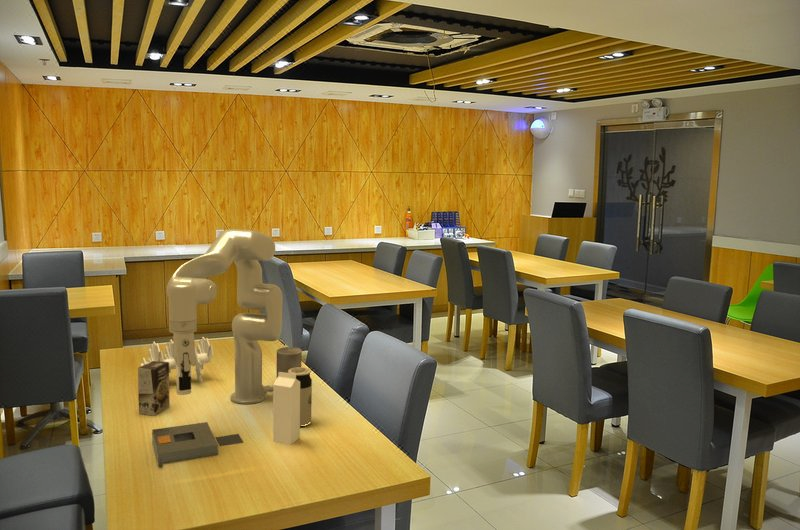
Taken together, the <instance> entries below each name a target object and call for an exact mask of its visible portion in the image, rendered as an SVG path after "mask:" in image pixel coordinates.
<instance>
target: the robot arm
mask: <svg viewBox="0 0 800 530" xmlns="http://www.w3.org/2000/svg"><path fill="white" fill-rule="evenodd" d="M275 253H276V243H275V241H274V240H273V238H272V237H271V236H269V235H267V234H265V233H261V232H259V231H256V230H253V229H233V228H229V229H224V230H223V231H221V232H220V233H219V234H218V235H217V237H216V238H215V240H213V243H212V244H211V245H210V247H209V248H208V249H207V250H206V252H205V253H204V254H201V255H199V256H197V257H194V258H192V259H191V260H189V261H186V262H185V263H183V264H181V265H180V266H179V267H178V268H177V269H176V271H174V273H173V274H172V275H171V277H170V279H169V280H168V283H167V284H166V295H167V298H168V329H169V330H168V332H169V333H171V334H172V333H173V337H172V338H173V340H172V341H173V343H174V358H175V362H176V364H177V366H178V367H180V377H179V390H180V391H183V390H190V389H191V390H192V375H191V376H190V363H191V365H193V366H192V367H196V359H195V346H196V342H195V341H196V340H195V333H194V332H197V331H198V314H197V313H198V312H197V306H198V305H207V304H210V303H211V302H213V301H214V300H215V298H216V297H217V294H218V286H217V284H216V283H215V282H214V281H213V280H211V279H208V278H212V277H215V276H219V275H222V274H224V273H225V272H227V271H229V269H230V267H231V265H232V264H233V263H234V265H235V267H236V270H237V272H236V273H237V282H236V283H237V285H236V287H237V290H236V291H237V292H236V294H237V295H236V299H237V305H238V306H239V307H240V308H241V309H244V310H252V311H253V310H254V311H265V314H264V313H256V312H241V313H238V314H236V315H235V316H234V317H233V319H232V321H231V331H232V336H233V340H234V341H233V343H234V392H233V393H231V395H230V400H231V401H232V402H233V403H236V404H239V403H240V404H242V405H252V404H257V403H260V402H263V401H265V400H266V399H267V394H268V393H273V386H270V385H269V384H267V385H263V350H262V346H261V345H260V343H259V342H260V341H261V342H275V341H277V340H279V338H280V336H281V334H282V328H283V301H284V300H283V298H284V297H283V291H282V290H281V288H280V287H279V286H278V285H277V284H272V283H263V268H262V266H261V264H260V262H259V261H261V262H267V261H270V260H272V259H273V257H274V255H275ZM181 364H184V366H182V365H181ZM182 368H184V370H182Z"/></svg>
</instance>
